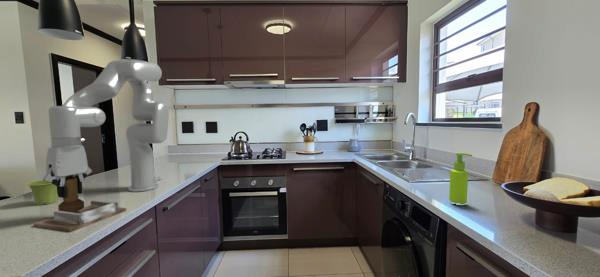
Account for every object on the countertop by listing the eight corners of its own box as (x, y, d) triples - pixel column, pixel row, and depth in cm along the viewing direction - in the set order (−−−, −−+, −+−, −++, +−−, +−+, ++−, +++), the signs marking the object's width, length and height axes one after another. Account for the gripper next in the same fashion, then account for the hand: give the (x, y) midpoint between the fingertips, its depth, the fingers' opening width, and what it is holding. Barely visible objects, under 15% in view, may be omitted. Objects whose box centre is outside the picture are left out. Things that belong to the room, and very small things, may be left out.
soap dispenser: (470, 207, 94) (473, 154, 93) (449, 204, 98) (451, 153, 96) (469, 202, 99) (471, 153, 98) (448, 200, 103) (450, 151, 101)
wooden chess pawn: (68, 213, 83) (64, 160, 82) (53, 212, 85) (49, 159, 83) (89, 207, 90) (85, 157, 88) (74, 205, 91) (71, 156, 90)
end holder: (93, 206, 96) (93, 196, 96) (126, 210, 92) (125, 200, 92) (33, 226, 79) (32, 213, 79) (70, 231, 75) (69, 218, 75)
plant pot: (68, 199, 106) (67, 179, 105) (44, 207, 97) (42, 185, 96) (49, 198, 107) (47, 178, 106) (22, 206, 97) (20, 184, 97)
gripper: (85, 140, 94) (88, 188, 96) (26, 144, 78) (32, 202, 80) (100, 140, 92) (103, 189, 94) (43, 145, 76) (48, 204, 78)
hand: (70, 194), depth 87 cm, fingers closed on wooden chess pawn, 3 cm apart
